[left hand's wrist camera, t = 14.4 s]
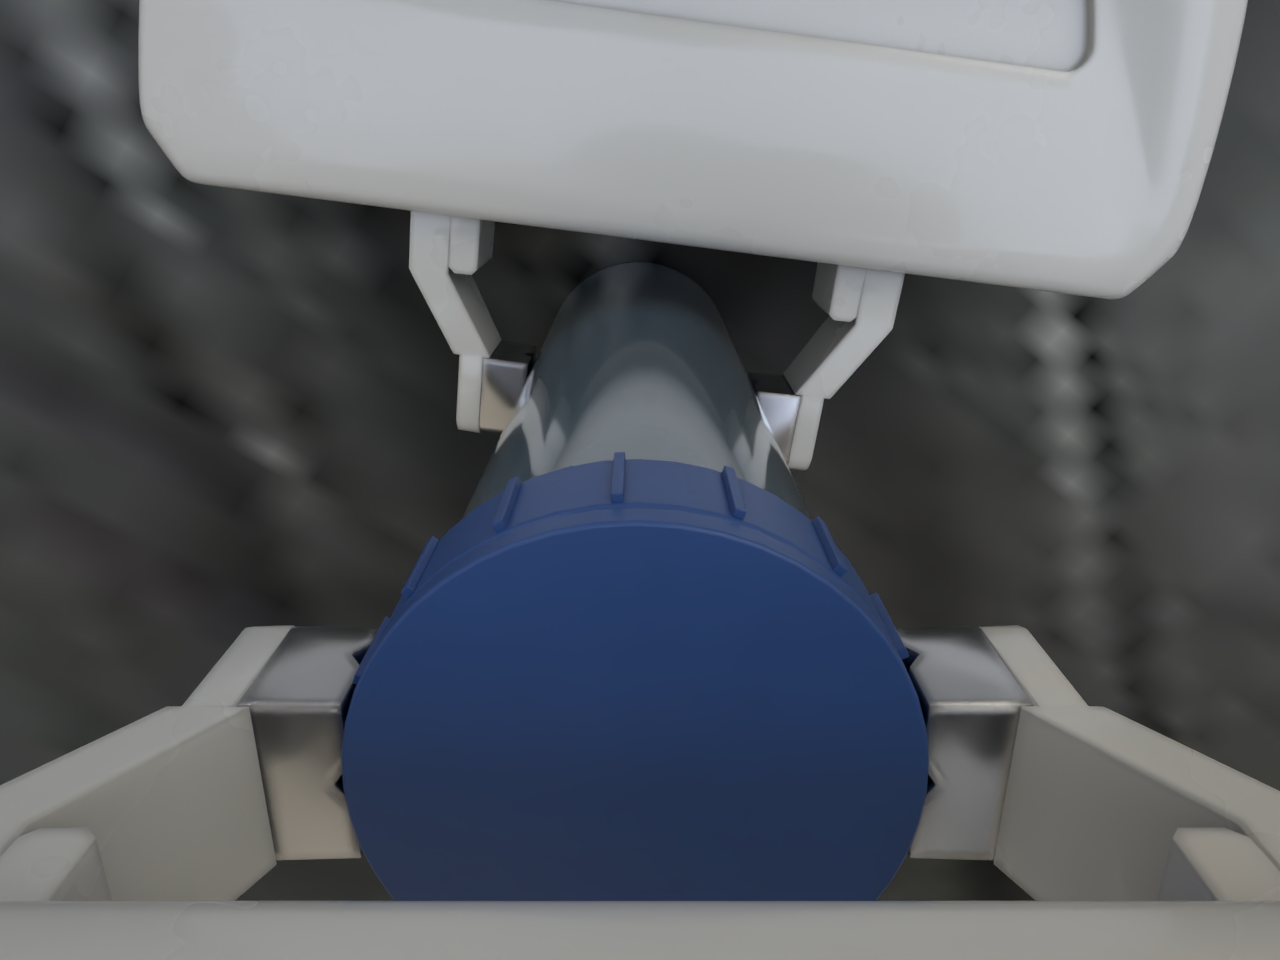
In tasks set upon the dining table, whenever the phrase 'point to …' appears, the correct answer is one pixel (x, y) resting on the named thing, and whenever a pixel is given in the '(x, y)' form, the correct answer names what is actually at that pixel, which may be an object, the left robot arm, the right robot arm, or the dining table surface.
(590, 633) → the lid
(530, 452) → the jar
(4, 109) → the dining table surface
